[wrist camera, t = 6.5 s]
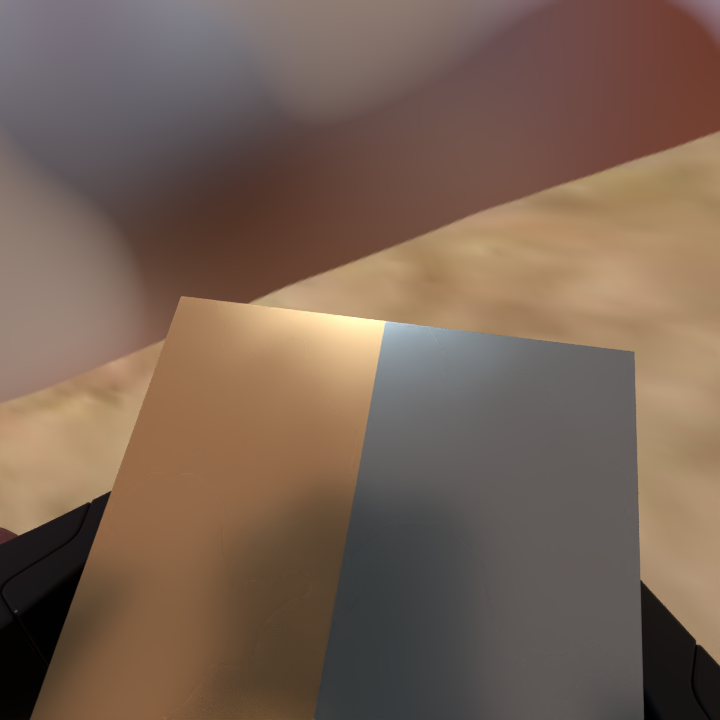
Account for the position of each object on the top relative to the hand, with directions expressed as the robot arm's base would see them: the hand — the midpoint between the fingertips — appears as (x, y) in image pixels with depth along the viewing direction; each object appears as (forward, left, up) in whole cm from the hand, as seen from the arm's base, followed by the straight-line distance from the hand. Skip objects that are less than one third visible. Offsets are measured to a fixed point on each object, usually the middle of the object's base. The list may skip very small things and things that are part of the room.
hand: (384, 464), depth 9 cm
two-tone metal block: (-1, -1, -7) cm, 7 cm away
